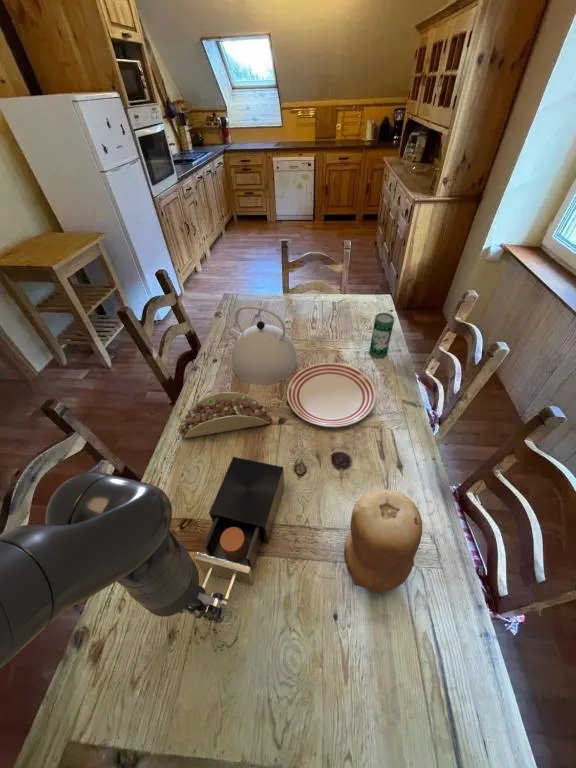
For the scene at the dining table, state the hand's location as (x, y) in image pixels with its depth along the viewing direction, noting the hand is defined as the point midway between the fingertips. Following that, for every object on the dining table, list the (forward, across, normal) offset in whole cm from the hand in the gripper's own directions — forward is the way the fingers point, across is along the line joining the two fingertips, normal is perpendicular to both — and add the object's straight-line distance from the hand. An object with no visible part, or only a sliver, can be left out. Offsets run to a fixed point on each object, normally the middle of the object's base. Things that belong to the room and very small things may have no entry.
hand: (192, 608), depth 55 cm
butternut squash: (+15, +29, +19) cm, 38 cm away
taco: (+15, -15, +47) cm, 52 cm away
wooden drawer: (+14, 0, +13) cm, 19 cm away
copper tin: (+13, 0, +15) cm, 20 cm away
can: (+15, +26, +91) cm, 96 cm away
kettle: (+15, -14, +78) cm, 80 cm away
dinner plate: (+15, +13, +65) cm, 68 cm away
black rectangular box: (+15, 0, +25) cm, 29 cm away
